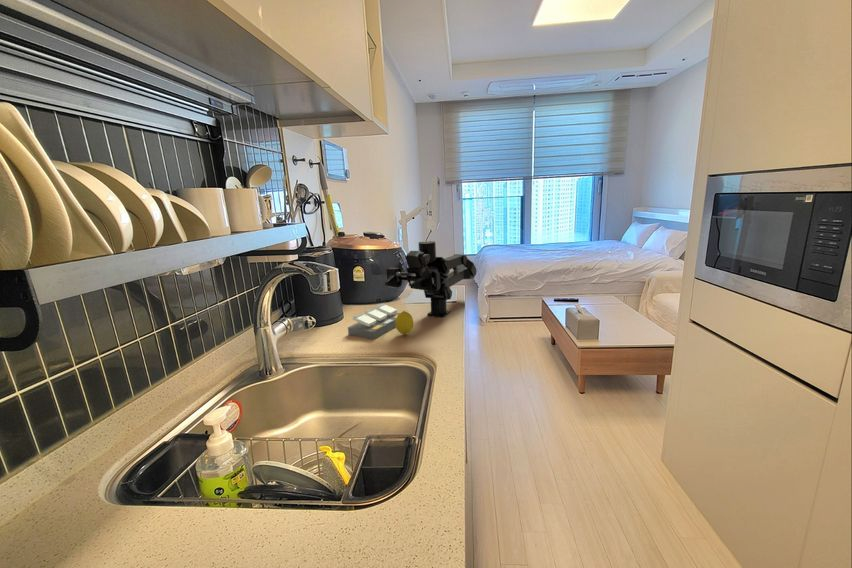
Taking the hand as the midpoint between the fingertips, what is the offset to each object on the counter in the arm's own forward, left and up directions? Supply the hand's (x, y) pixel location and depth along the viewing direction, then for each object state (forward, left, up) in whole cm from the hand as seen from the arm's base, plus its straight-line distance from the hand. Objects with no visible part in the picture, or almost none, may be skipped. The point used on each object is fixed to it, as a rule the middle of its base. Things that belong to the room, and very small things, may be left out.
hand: (397, 285), depth 109 cm
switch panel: (-4, -12, -17) cm, 21 cm away
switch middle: (-4, -13, -13) cm, 18 cm away
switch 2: (-10, -13, -13) cm, 21 cm away
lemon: (-2, 0, -17) cm, 17 cm away
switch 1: (+2, -13, -13) cm, 18 cm away
